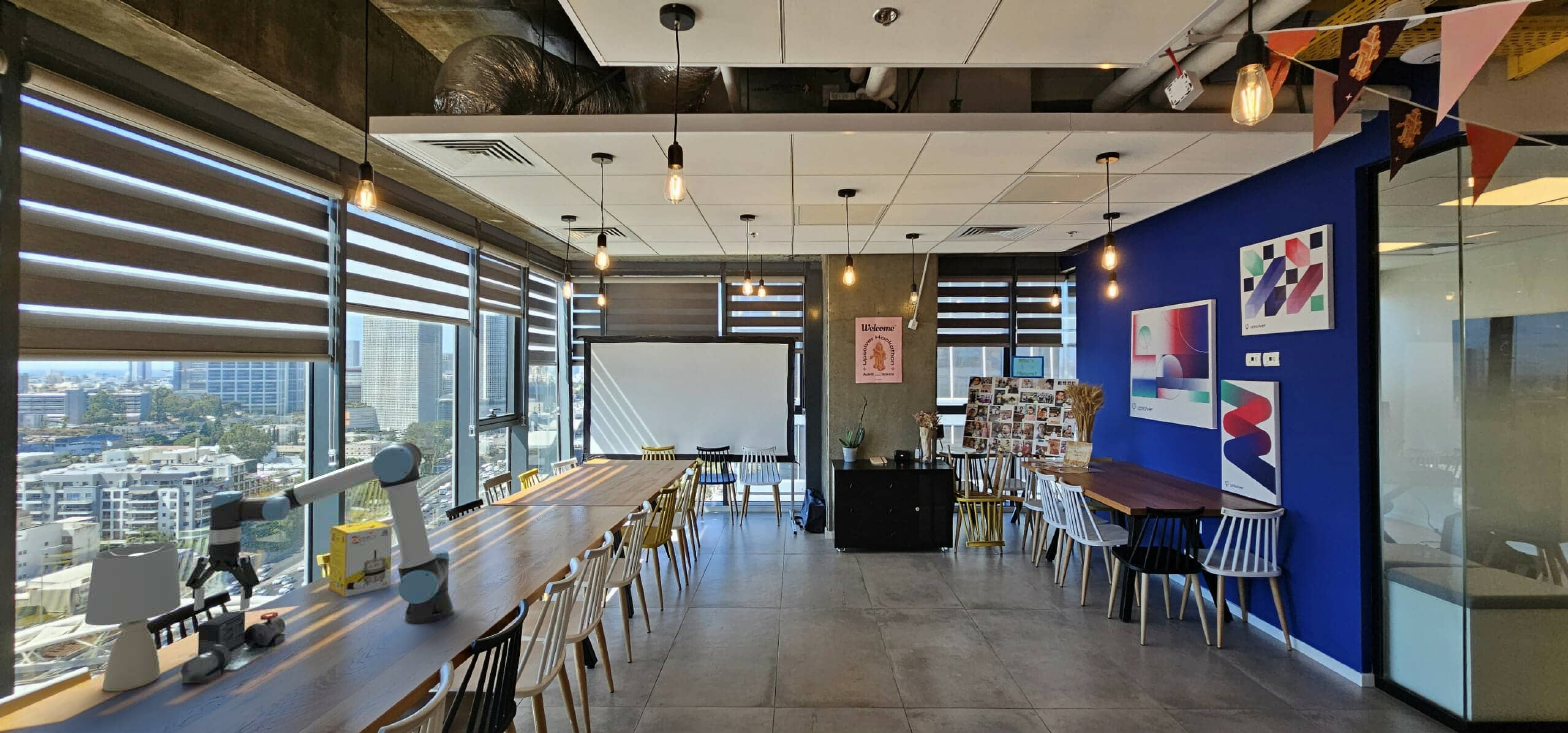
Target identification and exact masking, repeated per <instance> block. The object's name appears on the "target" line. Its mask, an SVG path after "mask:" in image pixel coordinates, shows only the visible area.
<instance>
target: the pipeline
mask: <svg viewBox="0 0 1568 733" xmlns="http://www.w3.org/2000/svg"><path fill="white" fill-rule="evenodd" d="M278 616H279V612H276V611H273V612H272V611H271V612H267V613H264V614H261V615H260V620H262V621H264V622H256V623H253V624H251V625H250V626H248V627H247V628H245V632H244V637H243V638H244V642H245V644H244V645H245V646H247V647H237V648H235V649H234V650H232V651H229V649H228V648H227V647H225V646H223V645H220V644H215V645H212V646H209V647H207V648H206V649H205V650H203V652H202V653H201V655H199V656H198V655H197V656H196V657H194V658H192V659H190V660H188V661H186V662H185V663H183V665H182V667H181V671H180V672H181V676H182V677H181V679H182V681H181V684H182V683H201V684H210V683H211V681H212V680H214V681H215V680H217V679H219V678H221V677H220V676H222V674H221V673H222V672H238V671H239V670H241V669H244V668H245V667H246V666H249V665H250V664H251V663H253V662H255V661H257V660H259V659H260V658H262V657H264V656H265V655H268V654H269V653H270V652H273V651H274V650H275V647H267V646H277V645H278V644H280V643H281V642H283V641H285V633H284V632H285V629H286V623H285V621H284V620H283V619H282V618H280V617H278ZM218 677H219V678H218ZM209 682H210V683H209ZM212 682H213V681H212Z"/></svg>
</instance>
